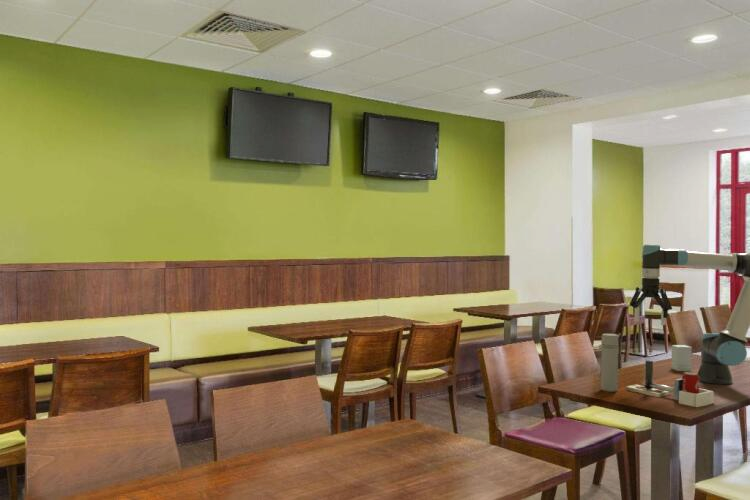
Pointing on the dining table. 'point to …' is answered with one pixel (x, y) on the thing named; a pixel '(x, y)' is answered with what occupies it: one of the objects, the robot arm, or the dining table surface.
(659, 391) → the panel
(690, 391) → the beverage can
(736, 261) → the robot arm
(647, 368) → the metal lever handle
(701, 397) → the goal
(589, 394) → the dining table surface
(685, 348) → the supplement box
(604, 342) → the water bottle
